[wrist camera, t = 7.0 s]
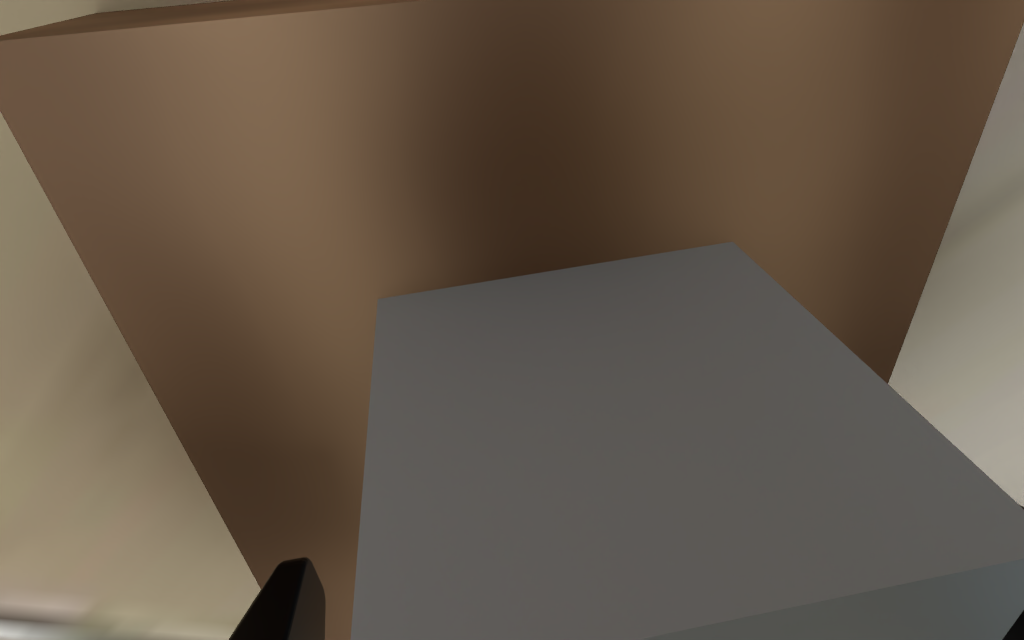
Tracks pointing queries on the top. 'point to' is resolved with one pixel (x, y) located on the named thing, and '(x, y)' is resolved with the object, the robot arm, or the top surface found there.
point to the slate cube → (661, 471)
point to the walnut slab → (470, 188)
